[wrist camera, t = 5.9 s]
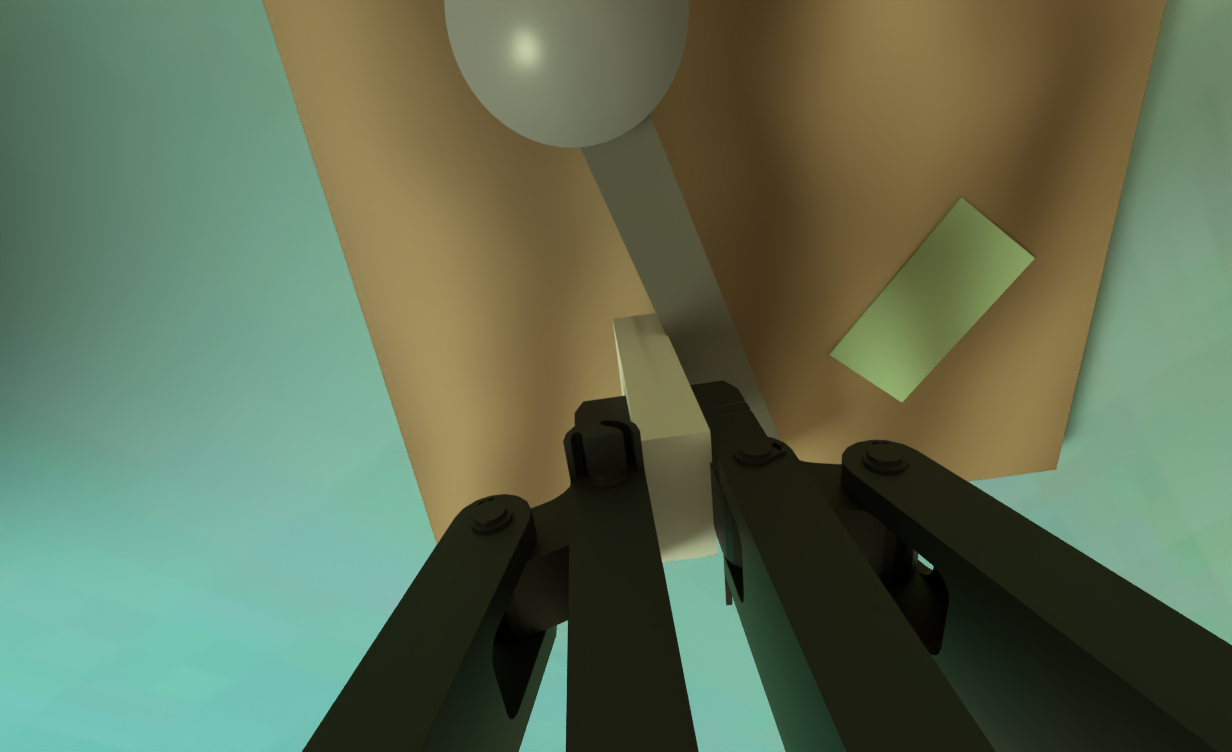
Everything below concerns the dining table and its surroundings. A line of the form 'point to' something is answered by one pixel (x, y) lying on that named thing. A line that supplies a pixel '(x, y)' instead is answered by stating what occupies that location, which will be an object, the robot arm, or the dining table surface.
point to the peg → (611, 144)
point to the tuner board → (740, 224)
